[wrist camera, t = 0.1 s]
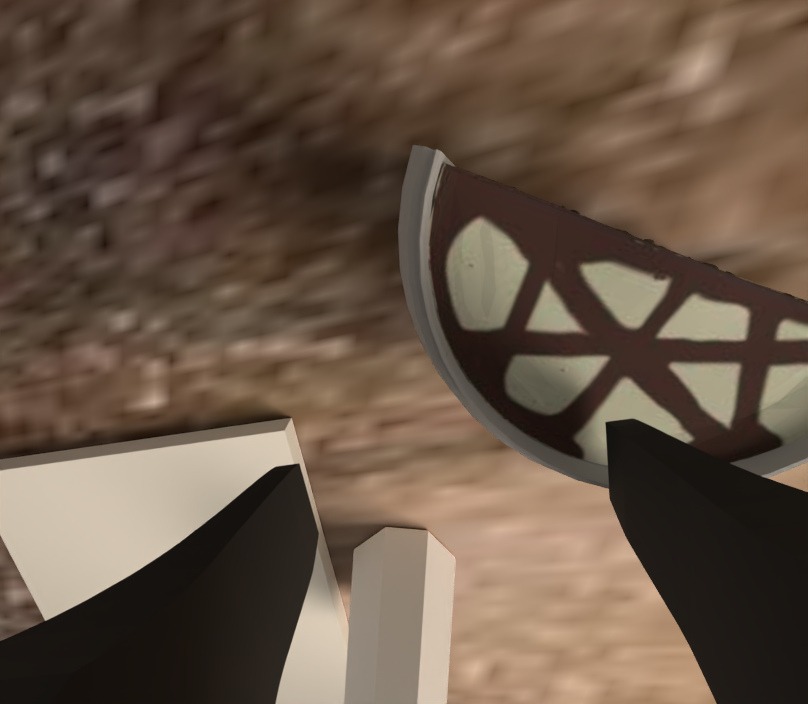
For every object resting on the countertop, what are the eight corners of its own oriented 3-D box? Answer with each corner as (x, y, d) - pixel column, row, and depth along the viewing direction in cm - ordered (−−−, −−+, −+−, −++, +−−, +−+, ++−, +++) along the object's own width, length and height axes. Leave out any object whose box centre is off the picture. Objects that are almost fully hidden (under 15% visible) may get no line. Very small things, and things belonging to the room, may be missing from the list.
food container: (366, 306, 21) (316, 414, 12) (418, 156, 19) (410, 138, 10) (636, 404, 22) (795, 578, 12) (713, 270, 20) (973, 358, 10)
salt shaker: (333, 538, 25) (265, 798, 14) (439, 511, 24) (447, 766, 14) (370, 619, 26) (334, 906, 16) (470, 597, 26) (500, 883, 15)
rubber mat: (370, 702, 28) (367, 724, 27) (122, 723, 30) (110, 745, 29) (291, 417, 23) (284, 430, 22) (-11, 460, 24) (-32, 474, 23)
